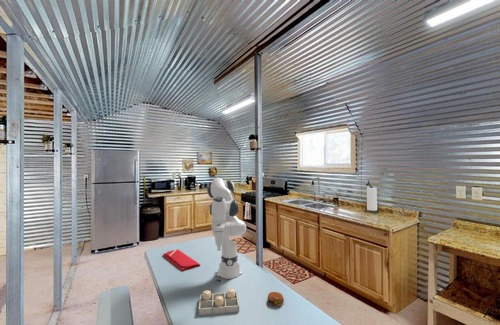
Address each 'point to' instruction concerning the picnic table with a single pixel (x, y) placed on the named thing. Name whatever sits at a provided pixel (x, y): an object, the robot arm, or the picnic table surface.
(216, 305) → the egg
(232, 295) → the egg
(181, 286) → the picnic table surface
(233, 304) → the carton
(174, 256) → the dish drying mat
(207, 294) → the egg
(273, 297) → the burger
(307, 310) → the picnic table surface
